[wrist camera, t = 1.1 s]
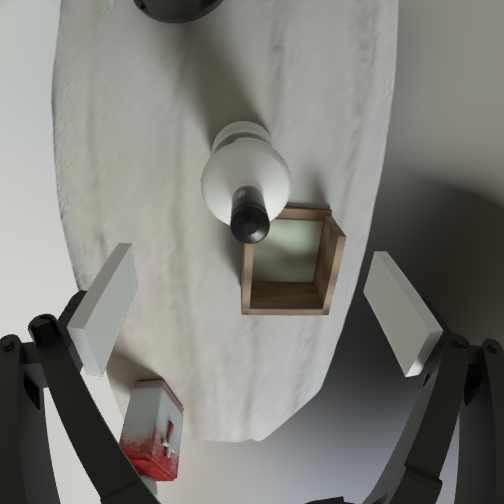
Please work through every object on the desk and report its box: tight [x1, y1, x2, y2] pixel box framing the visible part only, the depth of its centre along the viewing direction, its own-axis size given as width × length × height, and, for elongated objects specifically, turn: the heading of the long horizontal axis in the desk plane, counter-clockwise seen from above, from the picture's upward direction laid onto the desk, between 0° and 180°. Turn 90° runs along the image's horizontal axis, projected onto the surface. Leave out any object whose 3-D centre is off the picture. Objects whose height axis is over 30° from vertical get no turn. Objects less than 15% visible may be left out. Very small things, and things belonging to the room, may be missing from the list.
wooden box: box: [241, 207, 346, 315], centre depth 51 cm, size 16×14×9 cm
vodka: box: [201, 121, 292, 244], centre depth 33 cm, size 9×9×30 cm
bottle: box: [119, 380, 184, 499], centre depth 60 cm, size 14×10×30 cm
